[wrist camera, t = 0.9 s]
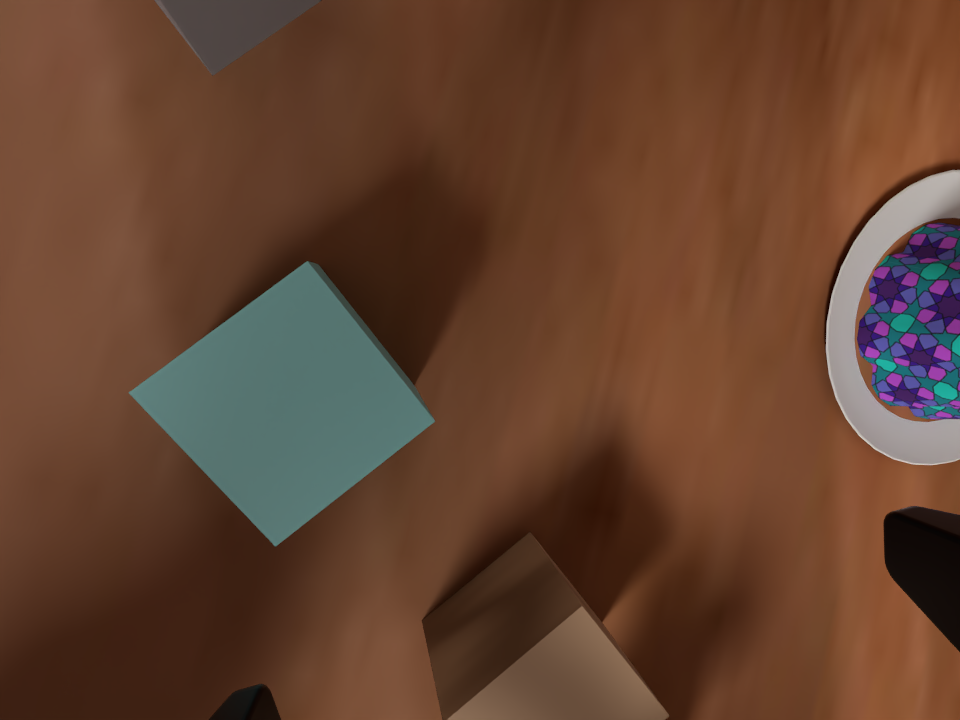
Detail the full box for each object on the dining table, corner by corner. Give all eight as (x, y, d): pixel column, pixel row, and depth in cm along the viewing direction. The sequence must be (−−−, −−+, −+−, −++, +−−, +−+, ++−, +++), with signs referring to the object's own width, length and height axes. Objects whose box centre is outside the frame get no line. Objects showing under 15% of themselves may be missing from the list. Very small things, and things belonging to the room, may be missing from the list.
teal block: (293, 478, 19) (275, 546, 14) (187, 360, 18) (128, 393, 13) (414, 384, 20) (434, 421, 15) (318, 264, 18) (307, 260, 14)
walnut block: (500, 706, 22) (542, 826, 17) (421, 619, 21) (443, 722, 16) (601, 621, 23) (669, 715, 18) (529, 530, 21) (581, 605, 17)
